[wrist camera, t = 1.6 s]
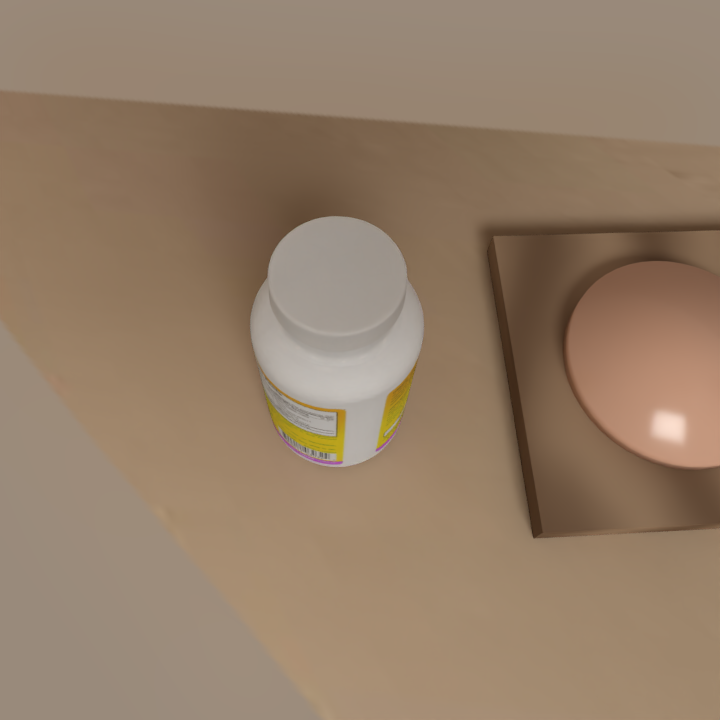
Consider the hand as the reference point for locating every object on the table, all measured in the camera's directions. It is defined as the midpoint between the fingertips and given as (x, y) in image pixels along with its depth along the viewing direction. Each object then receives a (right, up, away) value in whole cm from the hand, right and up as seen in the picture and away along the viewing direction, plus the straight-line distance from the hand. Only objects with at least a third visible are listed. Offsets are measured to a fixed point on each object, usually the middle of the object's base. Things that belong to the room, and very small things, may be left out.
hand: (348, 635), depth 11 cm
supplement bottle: (-1, +2, +23) cm, 23 cm away
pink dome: (+16, +4, +23) cm, 28 cm away
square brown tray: (+16, +4, +25) cm, 29 cm away
